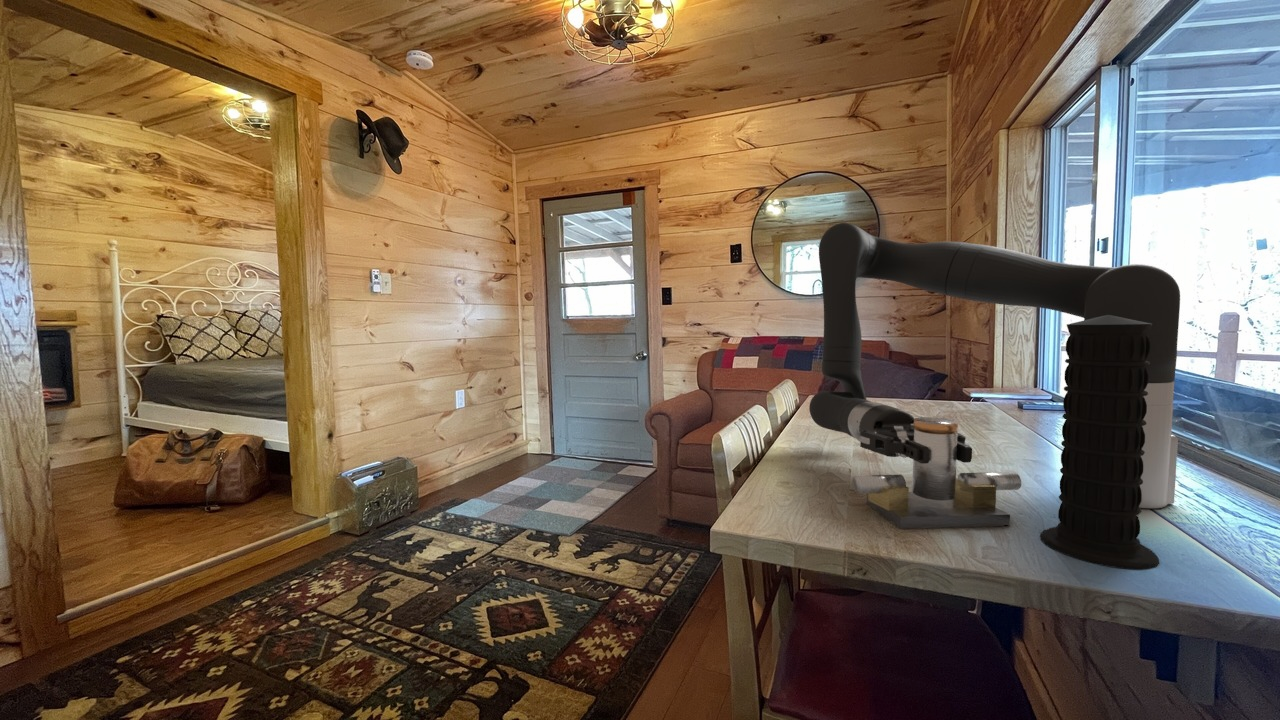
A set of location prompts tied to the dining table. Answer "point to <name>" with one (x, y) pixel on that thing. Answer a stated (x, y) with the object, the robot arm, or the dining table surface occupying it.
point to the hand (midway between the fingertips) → (947, 455)
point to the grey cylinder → (936, 458)
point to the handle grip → (1103, 444)
